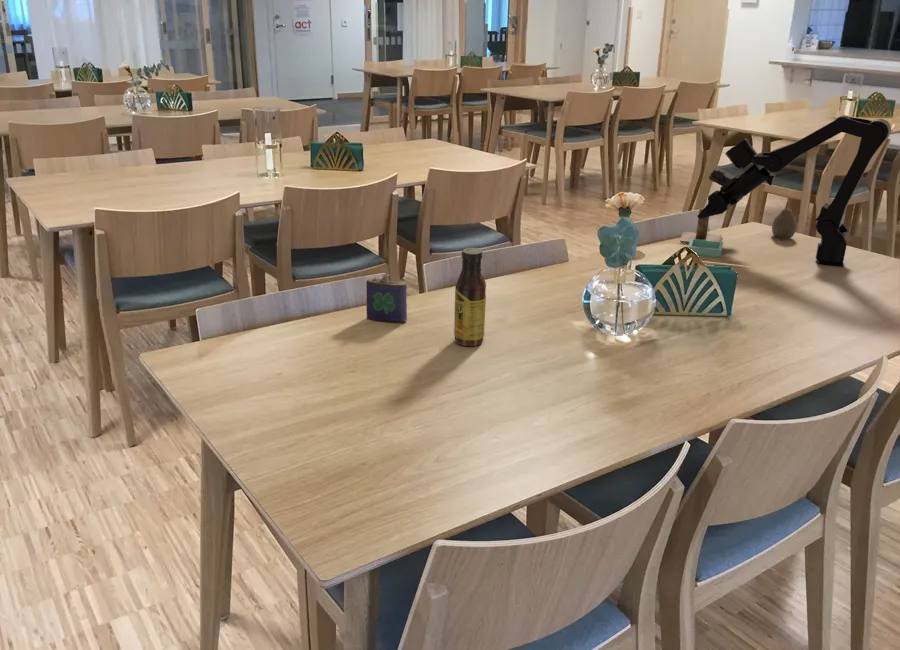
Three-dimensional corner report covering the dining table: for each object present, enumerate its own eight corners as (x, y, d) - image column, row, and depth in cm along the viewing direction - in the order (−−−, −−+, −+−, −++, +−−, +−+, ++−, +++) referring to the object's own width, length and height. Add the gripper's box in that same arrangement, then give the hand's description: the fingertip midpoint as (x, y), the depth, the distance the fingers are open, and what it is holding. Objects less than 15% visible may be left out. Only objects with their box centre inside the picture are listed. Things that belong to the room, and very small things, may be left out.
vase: (796, 241, 242) (801, 213, 239) (772, 240, 243) (777, 211, 240) (792, 235, 248) (797, 207, 245) (768, 234, 249) (773, 206, 246)
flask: (408, 320, 178) (408, 274, 174) (404, 325, 175) (403, 278, 171) (369, 315, 180) (367, 270, 176) (364, 320, 177) (362, 274, 173)
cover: (720, 237, 243) (725, 206, 240) (718, 247, 234) (723, 215, 230) (683, 234, 247) (687, 203, 243) (679, 243, 237) (683, 211, 234)
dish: (722, 250, 232) (723, 241, 231) (720, 258, 224) (721, 250, 223) (689, 246, 235) (690, 238, 234) (687, 255, 227) (688, 246, 226)
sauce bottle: (452, 336, 169) (454, 245, 162) (482, 335, 170) (485, 244, 163) (455, 348, 163) (457, 254, 156) (486, 348, 164) (489, 254, 156)
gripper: (738, 154, 236) (695, 187, 245) (720, 164, 221) (676, 198, 231) (761, 184, 235) (717, 216, 244) (745, 196, 220) (700, 229, 230)
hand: (702, 214), depth 237 cm, fingers open, 9 cm apart
